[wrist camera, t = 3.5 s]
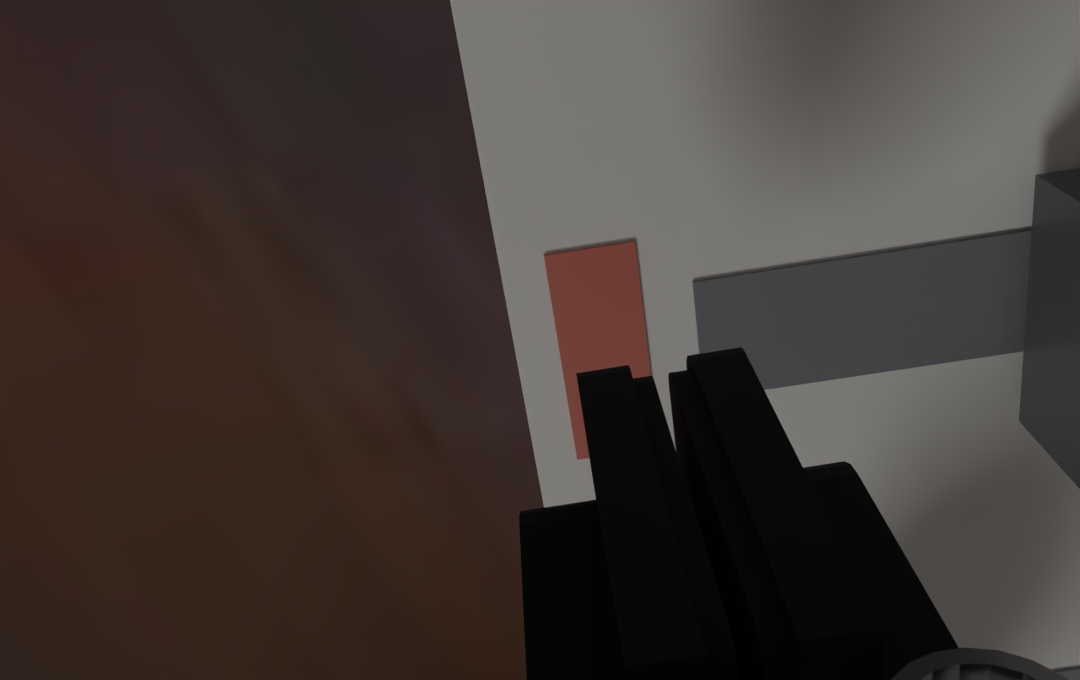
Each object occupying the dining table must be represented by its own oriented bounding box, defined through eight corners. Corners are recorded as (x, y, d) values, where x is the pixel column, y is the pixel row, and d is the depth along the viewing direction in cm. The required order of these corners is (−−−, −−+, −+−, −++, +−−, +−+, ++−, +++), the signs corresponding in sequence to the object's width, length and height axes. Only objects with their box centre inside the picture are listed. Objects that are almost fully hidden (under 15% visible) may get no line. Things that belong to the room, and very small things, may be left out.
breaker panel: (1874, -1011, 10) (2273, -1260, 8) (1373, 702, 21) (1482, 808, 18) (335, -708, 11) (290, -856, 9) (608, 804, 21) (620, 918, 19)
